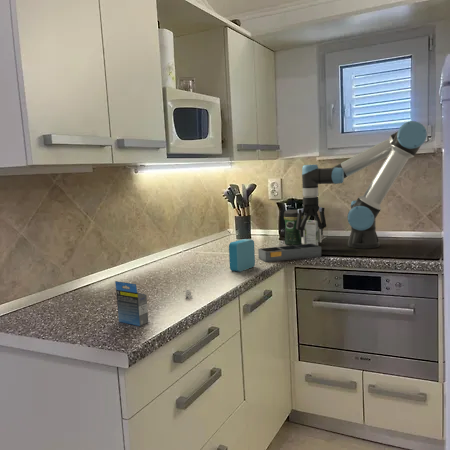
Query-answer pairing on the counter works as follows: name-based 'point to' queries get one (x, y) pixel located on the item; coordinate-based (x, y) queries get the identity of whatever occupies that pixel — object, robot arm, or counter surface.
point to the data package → (241, 255)
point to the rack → (289, 252)
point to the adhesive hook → (188, 294)
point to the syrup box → (311, 232)
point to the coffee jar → (292, 228)
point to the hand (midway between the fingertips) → (311, 242)
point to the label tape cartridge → (131, 304)
